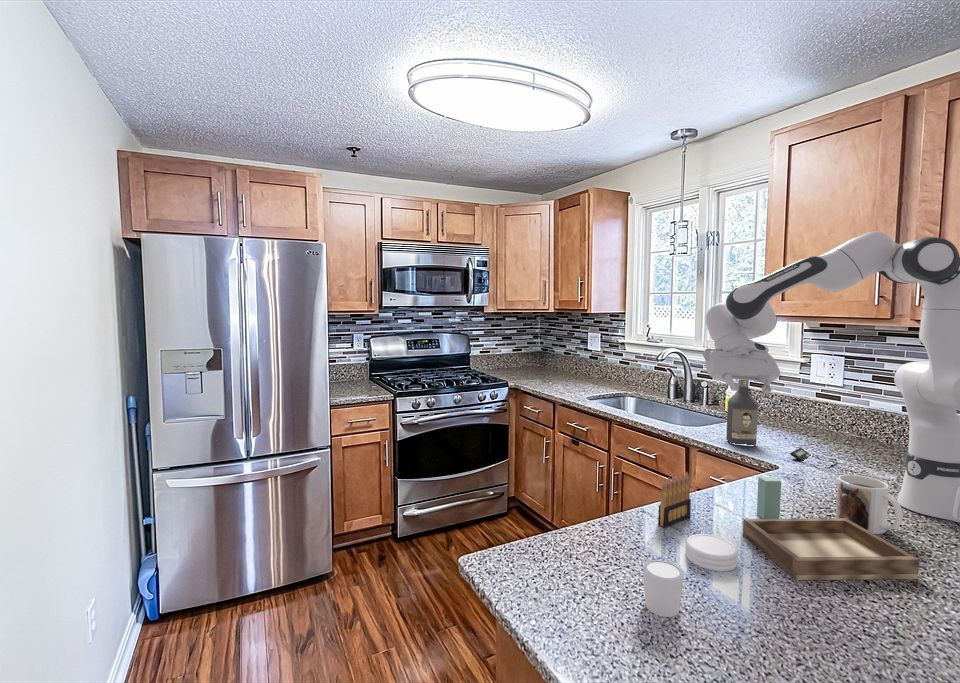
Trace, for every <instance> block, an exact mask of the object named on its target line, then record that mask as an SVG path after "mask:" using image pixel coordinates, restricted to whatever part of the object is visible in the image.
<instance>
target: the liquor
mask: <svg viewBox="0 0 960 683" xmlns="http://www.w3.org/2000/svg"><path fill="white" fill-rule="evenodd" d="M749 381H750V380H739V379H738V384H739V387H740V388H739V390H738V391H735V393H734V394H733V395H732V396H731V397H730V398H729V399H728V401H727V411H726V412H727V413H726V414H727V415H726V416H727V417H726V434H725V436H726V437H725V439H726V441H727V440H728V441H730V442H731V443H735V444H747V445H754V444H756V445H757V439H758V438H757V436H758V435H757V434H758V414H759V404H758V401H757V400H756V399H755V398H754V396H752V395H751V393H750V390H749ZM728 441H727V442H728ZM731 443H730V444H731Z"/></svg>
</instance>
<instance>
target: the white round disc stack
mask: <svg viewBox="0 0 960 683" xmlns="http://www.w3.org/2000/svg"><path fill="white" fill-rule="evenodd" d="M684 554H685V556H686V558H687V560H689V561H690V563H692V564H694V565H696V566H697V567H700V568H701V569H702V568H703V569H705V570H707V571H712V570H713V572H719V571H721V572H722V571H725V572H730V570H731V571H733V570H735V569H736V568H737V566H738V554H739V551H738V549H737V546H736V545H735V544H733V543H732V542H730V541H729V540H727V539H725V538H723V537H720V536H717V535H712V534H706V533H698V534H697V533H696V534H692V535H690V536H688V537H687V538H686V539H685V553H684ZM721 572H720V573H721ZM722 573H723V572H722Z"/></svg>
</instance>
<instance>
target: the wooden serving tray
mask: <svg viewBox="0 0 960 683" xmlns="http://www.w3.org/2000/svg"><path fill="white" fill-rule="evenodd" d="M742 522H743V523H742V524H743V525H742V537H743V538H745V539H746V540H747V539H748V540H747V541H749V543H751V544H752V545H753V544H754V545H753V546H754V547H756V548H757V549H758V550H759V549H760V550H759V551H761V552H762V553H763V554H764V555H765V556H767V557H768V558H769V559H770V560H771V561H772V562H773V563H775V564H776V565H777V566H778V567H780V568H781V569H782V570H783V571H785V573H787V574H788V575H789V576H790V577H791V578H793V579H794V580H795V581H836V580H838V581H840V580H841V581H848V580H850V581H851V580H853V581H855V580H858V581H859V580H860V581H861V580H918V579H919V567H920V566H919V565H920V558H917V557H916V556H914V555H912V554H910V553H909V552H907V551H905V550H904V549H902V548H900V547H898V546H896V545H894V544H893V543H891V542H889V541H887V540H885V539H883V538H881V537H880V536H879V535H878V534H873V533H871V532H869V531H868V530H866V529H864V528H862V527H860V526H859V525H857V524H855V523H853V522H852V521H850V520H848V519H846V518H836V517H834V518H833V517H832V518H830V517H829V518H827V517H826V518H825V517H824V518H779V519H762V518H743V519H742Z"/></svg>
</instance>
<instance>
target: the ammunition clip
mask: <svg viewBox="0 0 960 683" xmlns="http://www.w3.org/2000/svg"><path fill="white" fill-rule="evenodd" d="M690 489H691V488H690V478H689V472H688V471H686V472H685V474H684V473H683V472H682V473H681V474H680V475H679V473H678V474H677V475H676V477H675V475H673V476H672V477H670V476H668V477H667V479H666V478H663V481H662V484H661V493H660V504H659V505H658V518H657V520H658V521H657V525H658V527H661V528H663V529H665V528H668V527H671V526H673V525H675V524H678V523H681V522H683V521H685V520H688V519H690V518H691V515H692V514H691V512H692V511H691V510H692V509H691V507H692V506H691V505H692V504H691V503H692V502H691V501H692V500H691V498H690V495H691V494H690Z"/></svg>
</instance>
